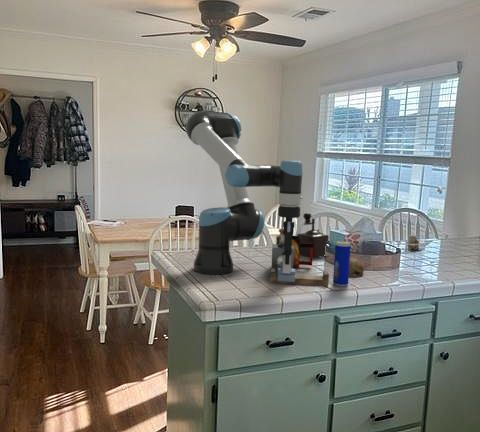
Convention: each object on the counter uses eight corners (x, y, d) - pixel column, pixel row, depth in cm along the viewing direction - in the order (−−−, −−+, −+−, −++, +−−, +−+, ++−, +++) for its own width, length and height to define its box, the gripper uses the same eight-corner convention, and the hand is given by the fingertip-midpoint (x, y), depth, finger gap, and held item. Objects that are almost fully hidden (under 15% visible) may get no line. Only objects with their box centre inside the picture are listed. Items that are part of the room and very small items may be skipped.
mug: (313, 268, 191) (314, 238, 190) (281, 270, 187) (282, 239, 185) (301, 262, 200) (303, 234, 199) (271, 264, 196) (272, 235, 194)
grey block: (271, 274, 179) (272, 248, 177) (271, 269, 187) (272, 243, 186) (292, 275, 178) (294, 249, 177) (292, 270, 186) (293, 244, 185)
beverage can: (331, 282, 171) (333, 240, 169) (345, 282, 171) (348, 241, 169) (335, 286, 165) (337, 243, 163) (349, 286, 166) (352, 243, 164)
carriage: (277, 280, 166) (278, 249, 165) (277, 275, 174) (279, 244, 172) (294, 281, 166) (296, 250, 164) (294, 276, 173) (295, 245, 172)
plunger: (278, 248, 180) (279, 229, 179) (278, 246, 184) (279, 228, 183) (287, 248, 180) (288, 230, 179) (287, 247, 183) (288, 228, 182)
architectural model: (420, 251, 237) (422, 236, 236) (411, 252, 234) (412, 237, 233) (415, 249, 240) (416, 235, 239) (405, 250, 237) (406, 235, 236)
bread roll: (343, 285, 180) (350, 269, 176) (328, 268, 188) (335, 252, 184) (363, 283, 185) (371, 267, 181) (348, 266, 193) (355, 250, 189)
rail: (270, 282, 168) (270, 271, 167) (270, 278, 173) (271, 267, 173) (328, 285, 166) (328, 274, 165) (326, 281, 171) (327, 270, 171)
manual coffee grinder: (329, 255, 216) (331, 216, 214) (311, 258, 210) (313, 217, 208) (305, 249, 229) (307, 212, 227) (288, 251, 223) (290, 213, 220)
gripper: (301, 208, 157) (297, 278, 161) (299, 203, 175) (296, 266, 178) (278, 207, 158) (275, 277, 161) (278, 202, 175) (276, 265, 178)
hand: (286, 271), depth 169 cm, fingers closed on carriage, 4 cm apart
